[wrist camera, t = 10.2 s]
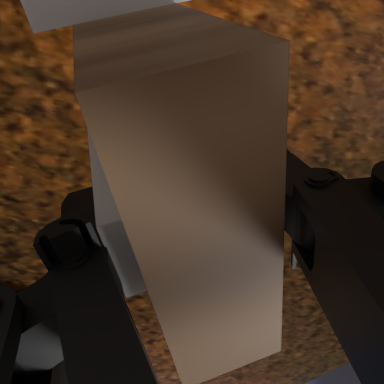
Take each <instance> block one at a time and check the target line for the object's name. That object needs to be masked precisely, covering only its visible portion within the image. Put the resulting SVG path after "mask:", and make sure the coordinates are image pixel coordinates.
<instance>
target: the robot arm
mask: <svg viewBox="0 0 384 384" xmlns="http://www.w3.org/2000/svg"><path fill="white" fill-rule="evenodd" d="M88 140H89V151H90V163H91V174H92V186H93V187H89V188H86V189H82V190H79V191H75V192H72V193H69V194H68V195H67V196H66V198H65V199H64V201H63V202H62V206H61V218H59V219H57V220H55V221H53V222H51V223H49V224H48V225H46V226H45V227H44V228H43V229H41V230H40V231H39V233H38V234H37V236H36V237H35V238H34V244H33V246H34V248H35V250H36V251H37V253H38V255H39V256H40V258H41V260H42V261H43V263H44V265H45V266H46V268H47V269H48V273H47V274H46V275H45V276H43V277H42V278H41V279H39V280H38V281H36V282H35V283H33V284H31V285H30V286H28V287H26V288H24V289H23V290H21V291H19V292H14V290H13V289H12V288H11V287H7V286H0V384H159V381H158V379H157V376H156V374H155V371H154V369H153V367H152V364H151V362H150V359H149V357H148V355H147V352H146V350H145V347H144V345H143V343H142V340H141V338H140V335H139V333H138V330H137V328H136V326H135V323H134V321H133V318H132V316H131V314H130V311H129V309H128V306H127V304H126V302H125V300H124V293H125V296H126V298H128V297H131V296H133V295H136V294H139V293H142V292H145V291H148V290H147V287H146V285H145V282H144V279H143V276H142V274H141V271H140V268H139V266H138V263H137V260H136V258H135V255H134V252H133V249H132V247H131V244H130V241H129V239H128V236H127V233H126V230H125V228H124V225H123V222H122V220H121V217H120V214H119V211H118V209H117V206H116V203H115V201H114V198H113V195H112V193H111V190H110V187H109V184H108V182H107V179H106V176H105V174H104V171H103V168H102V165H101V163H100V160H99V157H98V155H97V152H96V149H95V146H94V144H93V141H92V138H91V136H90V133H89V130H88ZM284 230H285V231H286V232H287V233H288V234H289V236H290V237H291V238H292V251H291V265H292V270H294V269H296V260H297V261H298V263H299V265H300V267H301V269H302V271H303V273H304V275H305V276H306V278H307V280H308V282H309V284H310V286H311V288H312V290H313V292H314V294H315V296H316V298H317V300H318V301H319V303H320V305H321V307H322V309H323V311H324V313H325V315H326V317H327V319H328V321H329V323H330V325H331V326H332V328H333V330H334V332H335V334H336V336H337V338H338V340H339V342H340V344H341V346H342V348H343V350H344V351H345V353H346V355H347V357H348V359H349V361H350V363H351V365H352V367H353V369H354V371H355V373H356V374H357V376H358V378H359V380H360V382H361V384H384V161H380V162H379V163H377V164H375V165H374V167H373V169H372V173H371V177H367V178H357V179H345V178H344V177H343V176H342V175H340V174H339V173H337V172H336V171H333V170H330V169H327V168H310V167H309V166H308V165H306V164H305V163H304V162H302V161H301V160H300V159H299V158H297V157H296V156H295V155H294V154H292V153H290V151H288V150H286V186H285V222H284ZM123 291H124V293H123Z"/></svg>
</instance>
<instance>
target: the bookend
mask: <svg viewBox="0 0 384 384" xmlns="http://www.w3.org/2000/svg"><path fill="white" fill-rule="evenodd" d="M20 1H21V3H22V6H23V8H24V11H25V13H26V16H27V18H28V21H29V23H30V26H31V28H32V31H33V33H37V32H42V31H46V30H51V29H56V28H61V27H65V26H70V25H73V53H74V87H75V95H76V98H77V100H78V103H79V106H80V109H81V111H82V114H83V117H84V119H85V122H86V125H87V127H88V130H89V133H90V136H91V138H92V141H93V144H94V146H95V149H96V152H97V155H98V157H99V160H100V163H101V165H102V168H103V171H104V174H105V176H106V179H107V182H108V184H109V187H110V190H111V193H112V195H113V198H114V201H115V203H116V206H117V209H118V211H119V214H120V217H121V220H122V222H123V225H124V228H125V230H126V233H127V236H128V239H129V241H130V244H131V247H132V249H133V252H134V255H135V258H136V260H137V263H138V266H139V268H140V271H141V274H142V276H143V279H144V282H145V285H146V287H147V290H148V293H149V295H150V298H151V301H152V304H153V306H154V309H155V312H156V314H157V317H158V320H159V323H160V325H161V328H162V331H163V333H164V336H165V339H166V341H167V344H168V347H169V350H170V352H171V355H172V358H173V360H174V363H175V366H176V369H177V371H178V374H179V377H180V379H181V382H182V384H199V383H202V382H204V381H207V380H209V379H212V378H214V377H217V376H219V375H222V374H224V373H227V372H229V371H232V370H234V369H237V368H239V367H242V366H244V365H247V364H249V363H252V362H254V361H257V360H259V359H262V358H264V357H267V356H269V355H272V354H274V353H277V352H279V351H281V329H282V293H283V258H284V222H285V186H286V150H287V115H288V79H289V43H290V41H289V40H286V39H283V38H280V37H277V36H274V35H271V34H268V33H265V32H262V31H259V30H256V29H252V28H249V27H246V26H243V25H240V24H237V23H234V22H231V21H228V20H225V19H222V18H219V17H216V16H213V15H210V14H206V13H203V12H200V11H197V10H194V9H191V8H188V7H185V6H182V5H179V4H176V3H179V2H184V1H189V0H20Z"/></svg>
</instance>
